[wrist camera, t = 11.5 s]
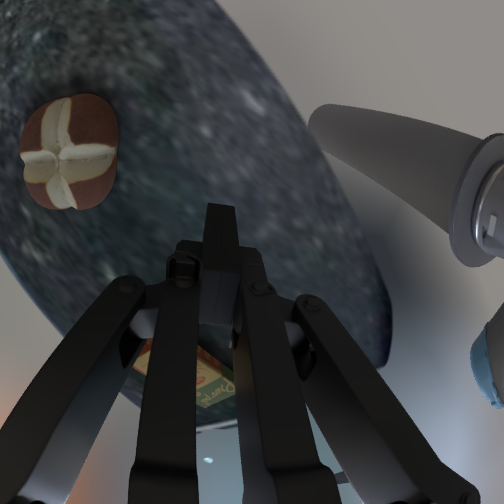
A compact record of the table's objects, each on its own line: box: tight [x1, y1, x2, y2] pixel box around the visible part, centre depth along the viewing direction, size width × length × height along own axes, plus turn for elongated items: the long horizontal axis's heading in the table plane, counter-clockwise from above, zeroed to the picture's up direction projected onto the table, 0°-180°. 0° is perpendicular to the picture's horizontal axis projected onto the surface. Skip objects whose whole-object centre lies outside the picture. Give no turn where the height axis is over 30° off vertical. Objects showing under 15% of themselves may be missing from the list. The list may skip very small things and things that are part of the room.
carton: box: [133, 337, 235, 408], centre depth 37 cm, size 8×16×4 cm, turn 33°
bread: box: [19, 93, 119, 210], centre depth 20 cm, size 11×11×5 cm
